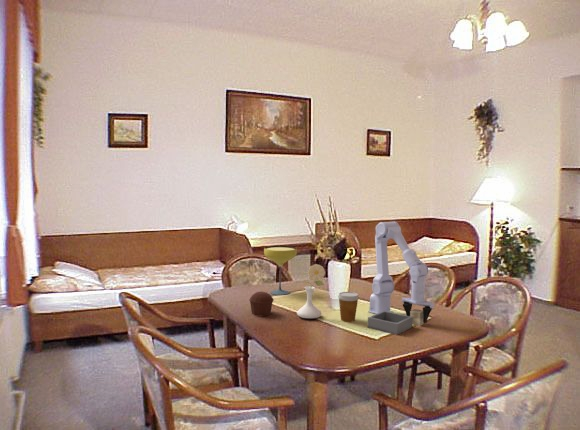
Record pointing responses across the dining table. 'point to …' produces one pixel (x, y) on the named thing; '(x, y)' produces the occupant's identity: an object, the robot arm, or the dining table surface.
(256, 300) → the muffin
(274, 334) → the dining table surface
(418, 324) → the birch block
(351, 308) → the disposable coffee cup
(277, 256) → the cocktail glass
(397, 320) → the charcoal bin
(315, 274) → the flower in vase
